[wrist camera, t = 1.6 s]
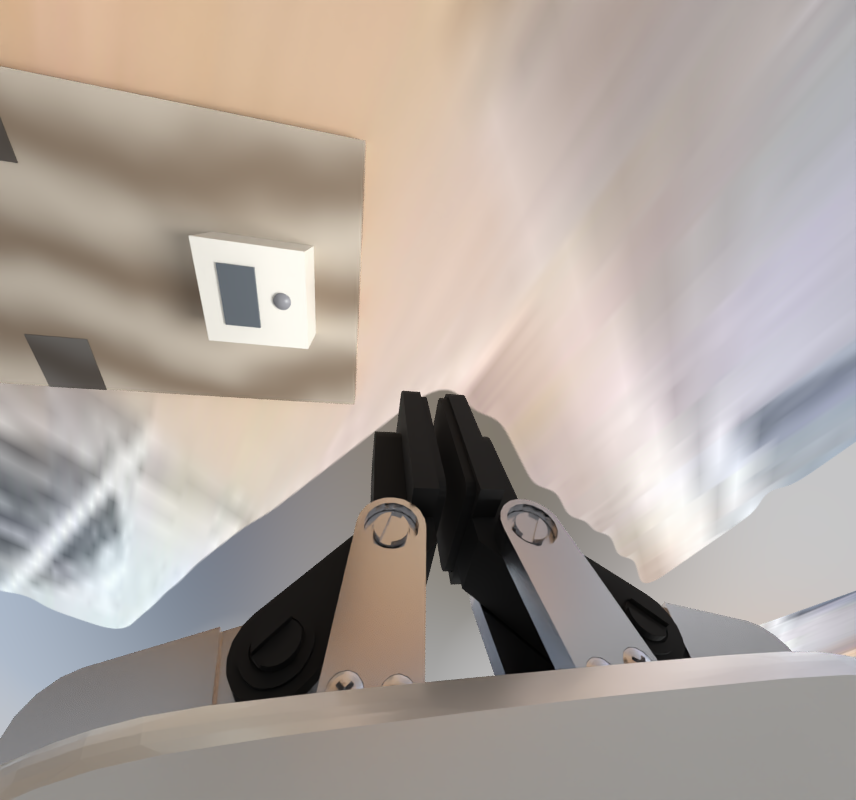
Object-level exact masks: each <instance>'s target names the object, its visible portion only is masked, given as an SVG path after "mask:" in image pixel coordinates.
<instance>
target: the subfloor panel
mask: <svg viewBox="0 0 856 800" xmlns="http://www.w3.org/2000/svg"><path fill="white" fill-rule="evenodd" d="M365 153H366V142H365V141H364V140H359V139H354V138H350V137H345V136H340V135H335V134H330V133H325V132H320V131H315V130H310V129H305V128H301V127H296V126H291V125H286V124H281V123H276V122H271V121H266V120H261V119H256V118H252V117H247V116H242V115H237V114H232V113H227V112H222V111H217V110H212V109H208V108H203V107H198V106H193V105H188V104H183V103H178V102H173V101H168V100H163V99H159V98H154V97H149V96H144V95H139V94H134V93H129V92H124V91H119V90H114V89H110V88H105V87H100V86H95V85H90V84H85V83H80V82H75V81H70V80H65V79H61V78H56V77H51V76H46V75H41V74H36V73H31V72H26V71H21V70H17V69H12V68H7V67H2V66H0V383H7V384H23V385H39V386H50V387H66V388H83V389H99V390H122V391H138V392H155V393H171V394H187V395H204V396H220V397H237V398H253V399H270V400H286V401H303V402H319V403H335V404H352V405H354V403H355V390H356V366H357V343H358V319H359V295H360V272H361V248H362V224H363V201H364V177H365ZM207 232H220V233H227V234H234V235H241V236H248V237H255V238H262V239H269V240H276V241H283V242H290V243H297V244H304V245H311V246H314V279H315V319H316V334H315V336H314V338H313V340H312V342H311V344H310V346H309V348H308V349H302V348H290V347H279V346H268V345H256V344H245V343H234V342H222V341H211V340H209V338H208V333H207V328H206V323H205V318H204V313H203V307H202V302H201V297H200V292H199V287H198V282H197V277H196V272H195V267H194V262H193V257H192V252H191V246H190V241H189V235H195V234H201V233H207Z"/></svg>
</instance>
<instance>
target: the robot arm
mask: <svg viewBox="0 0 856 800" xmlns="http://www.w3.org/2000/svg"><path fill="white" fill-rule="evenodd" d="M436 544H438V550H439V556H440V563H441V567H442V570H443V571H448V572H449V577H450V583H451V584H461V585H462V589H464V590H465V591H466V592H467V593H469V594H470V602H471V607H472V610H473V613H474V616H475V619H476V622H477V625H478V628H479V630H480V634H481V636H482V640H483V642H484V645H485V648H486V651H487V654H488V657H489V660H490V663H491V666H492V669H493V672H494V675H495V676H486V677H476V678H465V679H456V680H445V681H435V682H425V613H426V610H425V609H426V608H425V606H426V584H427V580H428V576H429V572H430V568H431V564H432V560H433V556H434V552H435V548H436ZM0 800H856V658H855V657H850V656H846V655H840V654H832V653H823V652H792V651H791V650H790V649H789V648H788V647H787V646H786V645H785V644H784V643H783V642H782V641H780V640H779V639H778V638H777V637H776V636H775V635H773V634H772V633H770V632H769V631H767V630H765V629H764V628H762V627H761V626H759V625H756V624H753V623H750V622H748V621H745V620H740V619H736V618H731V617H727V616H722V615H718V614H713V613H709V612H704V611H700V610H696V609H691V608H687V607H682V606H678V605H673V604H669V603H664V604H663V605H662V606H660V605H659V604H658V603H657V602H656V601H655V600H653V599H652V598H651V597H649V596H648V595H647V594H645V593H643V592H642V591H640V590H639V589H637V588H635V587H634V586H632V585H631V584H629V583H628V582H626V581H624V580H623V579H621V578H620V577H618V576H616V575H615V574H613V573H611V572H610V571H608V570H607V569H605V568H604V567H602V566H600V565H599V564H597V563H596V562H594V561H593V560H591V559H589V558H588V557H586V556H585V555H583V553H582V552H581V550H580V549H579V548H578V546H577V545H576V543H575V542H574V540H573V539H572V538H571V536H570V535H569V533H568V532H567V530H566V529H565V528H564V526H563V525H562V523H561V522H560V521H559V519H558V518H557V517H556V516H555V515H554V514H553V513H552V512H551V511H550V510H549V509H547V508H546V507H545V506H543V505H540V504H539V503H537V502H534V501H530V500H527V499H518V498H517V496H516V494H515V492H514V490H513V488H512V485H511V483H510V481H509V479H508V477H507V475H506V472H505V470H504V468H503V466H502V464H501V462H500V459H499V457H498V455H497V453H496V451H495V448H494V446H493V444H492V442H491V440H490V439H489V438H488V437H482V435H481V433H480V430H479V428H478V426H477V423H476V421H475V419H474V416H473V414H472V412H471V409H470V407H469V405H468V402H467V400H466V398H465V396H464V395H454V394H446V395H445V397H444V398H439V400H438V404H437V410H436V415H435V420H434V425H433V423H432V419H431V414H430V410H429V406H428V401H427V398H426V397H421V394H420V392H411V391H402V393H401V399H400V407H399V415H398V423H397V432H396V433H395V432H375V435H374V448H373V460H372V478H371V503H370V504H368V505H367V506H366V507H365V508H364V509H363V510H362V511H361V512H360V514H359V517H358V519H357V522H356V526H355V530H354V535H353V536H351V537H350V538H349V539H348V540H346V541H345V542H344V543H343V544H342V545H340V546H339V547H338V548H336V549H335V550H334V551H333V552H331V553H330V554H329V555H328V556H326V557H325V558H324V559H323V560H321V561H320V562H319V563H318V564H316V565H315V566H314V567H313V568H311V569H310V570H309V571H308V572H306V573H305V574H304V575H303V576H301V577H300V578H299V579H298V580H297V581H295V582H294V583H293V584H291V585H290V586H289V587H287V588H286V589H285V590H284V591H282V593H280V594H279V595H277V596H276V597H275V598H274V599H273V600H271V601H270V602H269V603H268V604H267V605H265V606H264V607H262V608H261V609H260V610H259V611H258V612H256V613H255V614H254V615H253V616H252V617H251V618H250V619H249V620H248V621H247V622H246V623H245V624H244V625H243V626H239V627H236V628H233V629H230V630H226V631H223V632H222V631H221V628H220V627H218V628H215V629H211V630H208V631H205V632H202V633H198V634H195V635H191V636H188V637H185V638H181V639H178V640H174V641H171V642H168V643H165V644H161V645H158V646H154V647H151V648H148V649H144V650H141V651H138V652H134V653H131V654H128V655H124V656H121V657H118V658H114V659H111V660H107V661H104V662H101V663H98V664H94V665H91V666H87V667H84V668H81V669H79V670H77V671H74V672H72V673H70V674H68V675H65V676H63V677H61V678H60V679H58V680H56V681H55V682H53V683H52V684H51V685H49V686H48V687H47V688H45V689H44V690H42V691H41V692H39V693H38V694H36V695H35V697H33V699H31V701H30V702H29V703H28V704H27V705H26V706H25V707H24V708H23V709H22V710H21V711H20V712H19V713H18V714H17V715H16V716H15V717H14V718H13V720H12V721H11V723H10V724H9V726H8V728H7V729H6V731H5V732H4V734H3V735H2V737H1V738H0Z"/></svg>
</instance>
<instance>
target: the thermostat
mask: <svg viewBox="0 0 856 800" xmlns="http://www.w3.org/2000/svg"><path fill="white" fill-rule="evenodd" d="M189 241H190V246H191V252H192V257H193V262H194V267H195V272H196V277H197V282H198V287H199V292H200V297H201V302H202V307H203V313H204V318H205V323H206V328H207V333H208V338H209V340H211V341H222V342H234V343H245V344H256V345H268V346H279V347H290V348H302V349H308V348H309V346H310V344H311V342H312V340H313V338H314V336H315V334H316V319H315V279H314V246H311V245H304V244H297V243H290V242H283V241H276V240H269V239H262V238H255V237H248V236H241V235H234V234H227V233H220V232H207V233H201V234H195V235H189Z"/></svg>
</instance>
